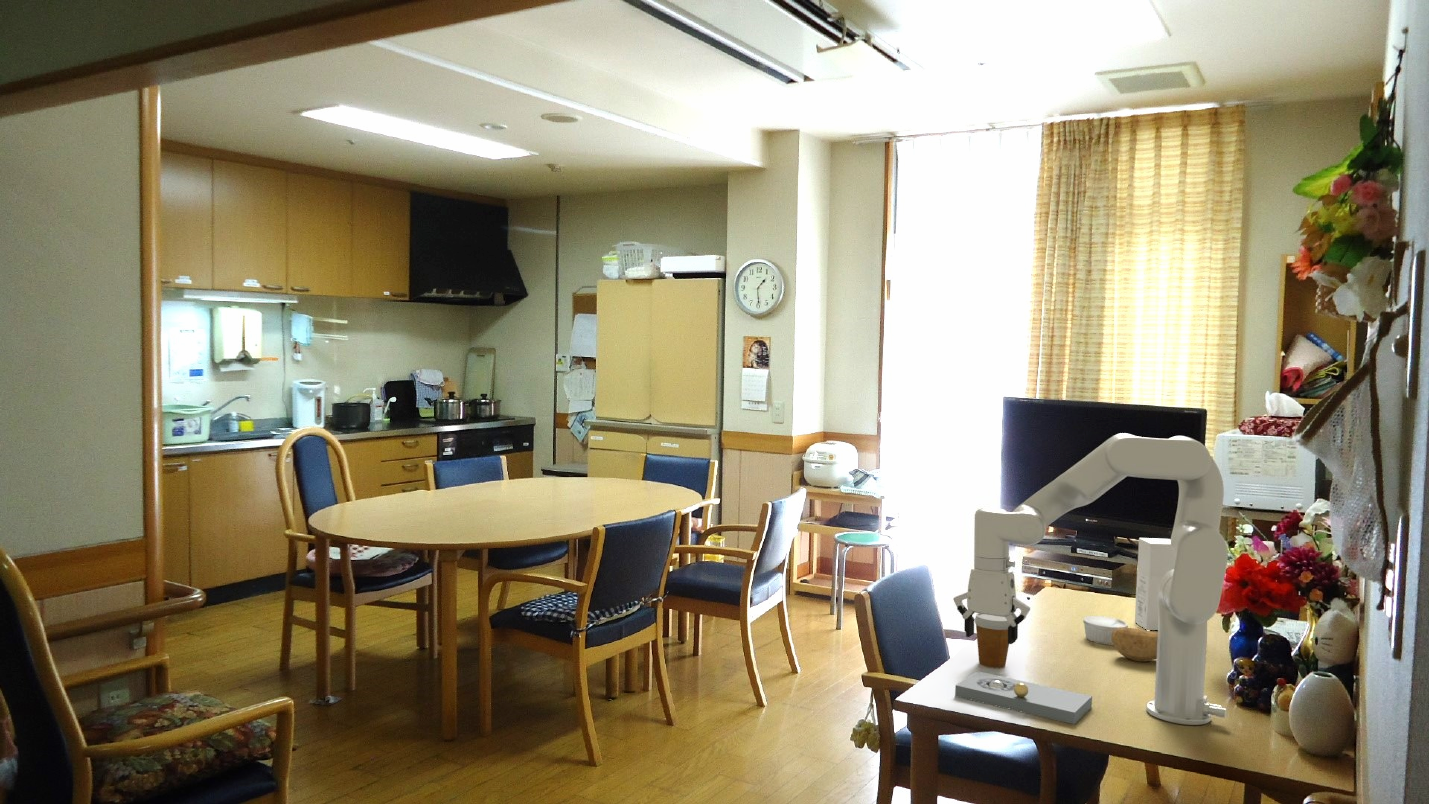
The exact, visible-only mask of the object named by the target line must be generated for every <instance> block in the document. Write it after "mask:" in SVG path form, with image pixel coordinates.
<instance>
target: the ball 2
mask: <svg viewBox="0 0 1429 804" xmlns="http://www.w3.org/2000/svg"><path fill="white" fill-rule="evenodd" d="M1014 693H1015V694H1016V695H1017V696H1018V697H1025V696H1026V695H1027V694H1028V687H1027V686H1026V685H1025V684H1023V683H1018V684H1016V685H1015V687H1014Z"/></svg>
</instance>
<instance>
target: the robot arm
mask: <svg viewBox="0 0 1429 804" xmlns="http://www.w3.org/2000/svg"><path fill="white" fill-rule="evenodd" d="M1127 477H1132V478H1140V479H1141V478H1143V479H1154V480H1155V479H1156V480H1157V479H1158V480H1171V481H1177V483H1178V484H1177V485H1178V499H1177V500H1178V501H1177V508H1176V513H1175V517H1174V518H1175V519H1174V523H1173V527H1172V531H1171V536H1170V540H1171V548H1172V551H1173V553H1174V554H1175V555H1176V560H1175V566H1174V569H1172V570H1170V571H1168V572H1167V573H1166V574H1165V575H1164V576H1163V577H1162V579H1161V581H1160V584H1159V588H1158V616H1159V618H1158V631H1157V632H1158V641H1157V659H1155V660H1156V663H1155V680H1154V681H1155V684H1154V685H1155V686H1154V700H1151V701H1148V702H1147V703H1146V707H1145V710H1146V712H1147V713H1149V715H1150V716H1153V717H1155V718H1156V719H1160V720H1161V721H1166V722H1169V723H1172V724H1173V723H1174V724H1178V725H1187V726H1188V725H1189V726H1200V725H1206V724H1208V723H1210V722H1211V719H1212V716H1215V717H1217V718H1223V719H1226V717H1227V708H1223V707H1222V705H1220V704H1215V703H1210V701H1208V695H1205V680H1206V679H1205V678H1206V662H1207V661H1206V660H1207V647H1208V643H1207V642H1208V621H1210V619H1212V618H1213V617H1214V616H1215V615H1216V613H1217V612H1218V608H1219V605H1220V601H1221V596H1222V593H1223V587H1224V582H1225V575H1226V571H1227V566H1228V561H1229V560H1228V557H1229V551H1228V545H1227V542H1226V540H1225V538H1224V536H1223V535H1222V533H1220V526H1221V520H1222V511H1223V504H1224V493H1225V491H1224V490H1225V489H1224V488H1225V487H1224V481H1223V477H1222V473H1221V471H1220V469H1219V466H1218V464H1217V463H1216V461H1215V460H1214V458H1213V457H1212V456H1211V453H1210V451H1209V449H1208V447H1206V445H1204V444H1203V443H1201V441H1198V440H1196V439H1194V438H1192V437H1189V436H1185V435H1175V436H1172V437H1169V438H1158V437H1157V438H1156V437H1144V436H1143V437H1142V436H1137V435H1134V434H1131V433H1126V432H1124V433H1123V432H1122V433H1121V432H1120V433H1117V434H1115V435H1112V436H1111V437H1109V438H1107V439H1106V440H1105V441H1104V442H1102V444H1100V445H1099V446H1098V447H1096V448H1095V449H1093V450H1092V451H1091V452H1089V453H1088V454H1087V455H1086V456H1085V457H1083V458H1082V459H1081V460H1079V461H1078V462H1076V463H1075V464H1074V465H1072V466H1071V467H1070V468H1068V469H1067V470H1066V471H1065V472H1063V473H1062V474H1059V476H1057V477H1056V478H1055V479H1054V480H1052V481H1050V482H1049V483H1048V484H1047V485H1044V487H1042V488H1041V489H1039V490H1038V491H1037V492H1035V493H1034V494H1032V495H1031V496H1029V498H1027V499H1026V500H1025V501H1023V502H1022V503H1021V504H1019V505H1018V506H1016V508H1014V510H1013V511H1012V512H1008V511H1007V510H1005V509H1003V508H997V507H982V508H980V509H979V508H978V509H977V510H976V511H975V513H974V533H973V534H974V541H973V542H974V547H973V551H974V552H973V553H974V554H973V560H974V561H973V567H971V570H970V573H969V579H968V585H967V591H966V592H964V593H962V594H959V595H957V596H954V597H953V602H954V605H955V606H956V609H957V611H958V612H959V613H960V615H962V619H964V632H965V637H967V638H970V637H971V636H973V635H975V621H974V619H975V617H974V616H973V615H974V614H975V613H976V614H977V613H981V614H987V615H994V616H1001V617H1005V618H1006V619H1007V621H1008V622H1009V623H1010V626H1008V643H1009V645H1013V644H1014V643H1015V642H1016V641H1017V640H1018V636H1019V634H1018V633H1019V631H1018V630H1019V629H1018V627H1019V624H1020V623H1022V622H1023V621H1024V620H1025V619H1026V618H1027V616H1028V614H1029V612H1030V611H1031V607H1030V606H1028V605H1027V604H1026V603H1024V602H1022V601H1021V600H1019V599H1018V598H1017V592H1016V590H1017V589H1016V582H1015V577H1014V571H1013V570H1011V569H1010V568H1015V567H1016V561H1014V560H1012V559H1011V557H1010V543H1011V544H1012V543H1013V544H1017V545H1021V546H1032V545H1036V544H1037V545H1038V543H1040V542H1041V541H1043V539H1044V538H1045V535H1046V533H1047V527H1048V526H1050V525H1051V524H1052V523H1053V522H1055V521H1056V520H1057V519H1059V518H1061V517H1062V516H1063V515H1064V514H1067V513H1068V512H1070V511H1072V510H1074V509H1076V508H1077V509H1078V508H1081V507H1084V506H1087V505H1089V504H1091V503H1093V502H1095V501H1096V500H1097V499H1099V498H1100V497H1102V495H1104V494H1106V492H1108V491H1109V490H1110V489H1111V488H1113V487H1114V486H1116V485H1117V484H1118V483H1120V482H1122V480H1124V479H1125V478H1127ZM964 600H966V606H965V605H964V603H963V601H964ZM1017 608H1018V609H1019V610H1020V612H1019V615H1016V614H1015V613H1016V611H1017Z"/></svg>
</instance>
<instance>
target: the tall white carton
mask: <svg viewBox="0 0 1429 804" xmlns="http://www.w3.org/2000/svg"><path fill="white" fill-rule="evenodd" d="M1137 552H1138V553H1137V557H1138V558H1137V569H1136V589H1135V610H1134V612H1135V613H1134V623H1135V624H1136V623H1137V624H1136V625H1138V626H1139V627H1141V628H1142V627H1143V628H1142V629H1143V630H1145V629H1146V630H1158V618H1159V616H1158V588H1159V584H1160V581H1161V579H1162V577H1163V576H1164V575H1165V574H1166V573H1167V572H1168V571H1170V570H1172V569H1174V566H1175V560H1176V555H1175V554H1174V553H1173V551H1172V548H1171V538H1155V537H1154V538H1153V537H1152V538H1151V537H1150V538H1149V537H1139V538H1138V551H1137Z"/></svg>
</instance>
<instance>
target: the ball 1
mask: <svg viewBox="0 0 1429 804" xmlns="http://www.w3.org/2000/svg"><path fill="white" fill-rule="evenodd" d="M989 686H990V687H994V688H1004V685H1003V683H1002V682H1000V681H998V680H994V681H991V682H990V684H989Z"/></svg>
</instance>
